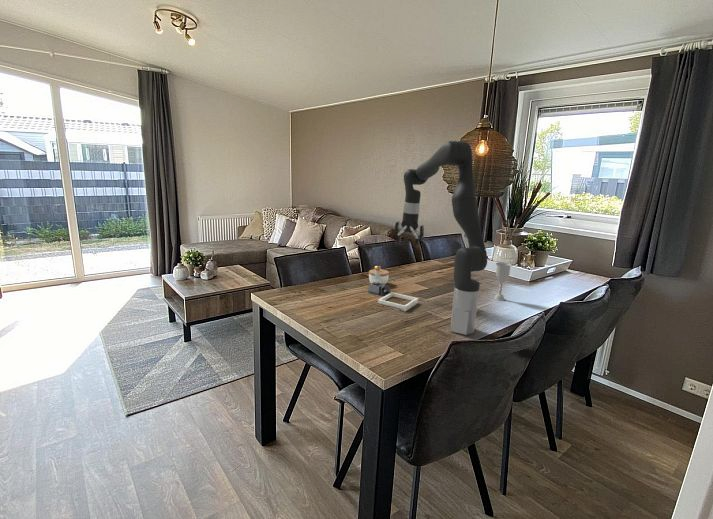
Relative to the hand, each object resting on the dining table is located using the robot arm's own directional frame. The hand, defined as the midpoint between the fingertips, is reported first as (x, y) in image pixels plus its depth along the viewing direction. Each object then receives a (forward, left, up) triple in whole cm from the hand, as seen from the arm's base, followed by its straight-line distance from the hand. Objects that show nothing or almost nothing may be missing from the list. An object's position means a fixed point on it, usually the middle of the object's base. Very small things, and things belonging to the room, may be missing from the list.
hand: (407, 244), depth 187 cm
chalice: (+21, -42, -26) cm, 54 cm away
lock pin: (-10, +11, -24) cm, 28 cm away
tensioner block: (-10, +9, -25) cm, 29 cm away
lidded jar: (+3, +17, -26) cm, 31 cm away
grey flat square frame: (-17, -5, -25) cm, 31 cm away
